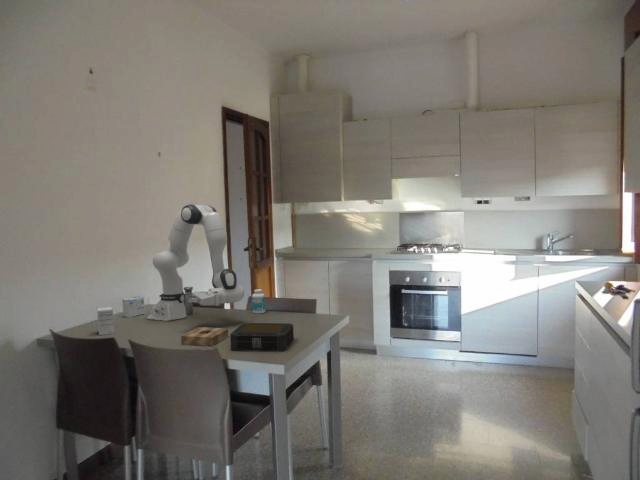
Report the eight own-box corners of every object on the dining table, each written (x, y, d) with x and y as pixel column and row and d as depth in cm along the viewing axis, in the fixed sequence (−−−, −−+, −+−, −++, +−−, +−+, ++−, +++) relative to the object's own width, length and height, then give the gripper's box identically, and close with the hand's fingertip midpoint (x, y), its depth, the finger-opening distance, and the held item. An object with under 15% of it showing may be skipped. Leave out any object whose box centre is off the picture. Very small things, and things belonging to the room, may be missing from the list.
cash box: (229, 351, 215) (228, 334, 214) (243, 338, 235) (242, 322, 234) (284, 352, 211) (284, 335, 210) (294, 339, 231) (293, 323, 230)
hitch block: (181, 344, 227) (180, 335, 227) (199, 335, 242) (198, 327, 242) (212, 346, 223) (212, 337, 222) (228, 336, 238) (228, 328, 238)
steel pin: (183, 315, 248) (182, 288, 247) (187, 313, 252) (186, 286, 251) (191, 315, 247) (189, 288, 246) (195, 313, 251) (194, 286, 250)
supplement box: (98, 332, 254) (97, 308, 253) (114, 330, 257) (112, 306, 256) (98, 335, 248) (96, 310, 247) (114, 333, 250) (112, 309, 249)
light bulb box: (138, 313, 296) (137, 295, 295) (145, 314, 292) (144, 296, 291) (122, 316, 287) (121, 298, 286) (129, 318, 283) (128, 299, 282)
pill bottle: (260, 310, 292) (259, 288, 291) (268, 312, 287) (267, 289, 286) (250, 312, 287) (249, 290, 286) (257, 314, 282) (256, 291, 281)
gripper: (207, 287, 264) (181, 290, 257) (219, 293, 246) (191, 297, 239) (208, 299, 265) (182, 302, 258) (219, 306, 247) (192, 309, 240)
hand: (187, 299), depth 249 cm, fingers closed on steel pin, 3 cm apart
